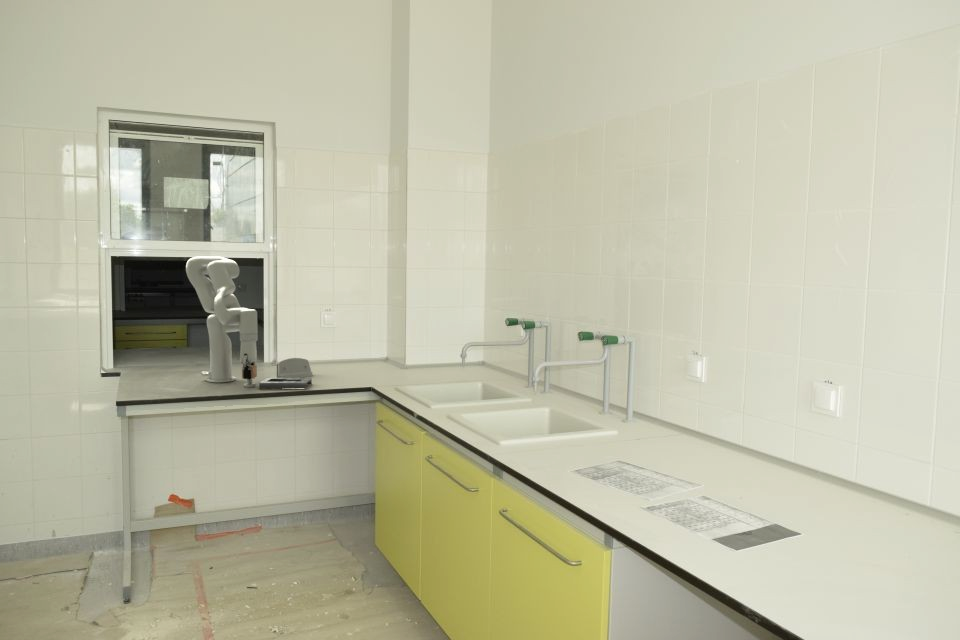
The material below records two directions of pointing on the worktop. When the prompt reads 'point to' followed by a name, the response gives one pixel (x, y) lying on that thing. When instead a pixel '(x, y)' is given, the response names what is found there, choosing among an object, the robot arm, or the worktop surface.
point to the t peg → (253, 375)
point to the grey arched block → (293, 368)
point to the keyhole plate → (284, 383)
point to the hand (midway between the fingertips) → (249, 377)
